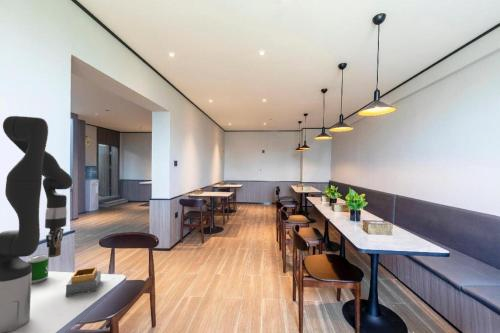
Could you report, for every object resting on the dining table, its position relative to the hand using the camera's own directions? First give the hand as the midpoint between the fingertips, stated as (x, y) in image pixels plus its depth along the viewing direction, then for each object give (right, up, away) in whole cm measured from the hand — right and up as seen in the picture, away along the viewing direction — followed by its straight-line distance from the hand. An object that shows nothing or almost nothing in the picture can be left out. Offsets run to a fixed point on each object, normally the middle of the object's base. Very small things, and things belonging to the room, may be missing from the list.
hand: (54, 253), depth 103 cm
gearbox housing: (+14, -16, +1) cm, 22 cm away
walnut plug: (0, -1, 0) cm, 1 cm away
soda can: (-15, -17, +7) cm, 23 cm away
